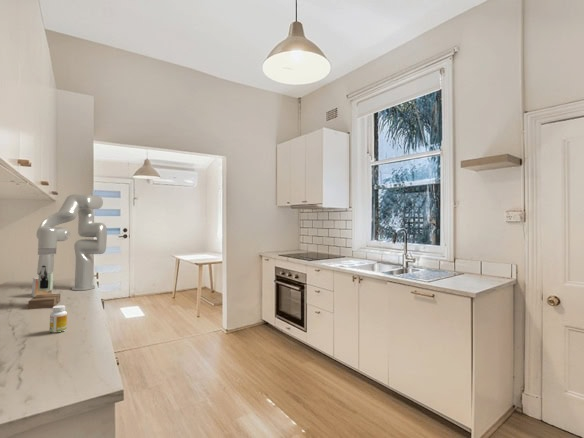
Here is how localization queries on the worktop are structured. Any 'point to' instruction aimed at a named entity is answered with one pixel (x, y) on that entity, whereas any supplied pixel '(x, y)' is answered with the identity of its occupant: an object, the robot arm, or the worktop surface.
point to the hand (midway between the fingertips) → (45, 287)
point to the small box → (35, 289)
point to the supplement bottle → (58, 319)
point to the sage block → (50, 283)
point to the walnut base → (44, 301)
